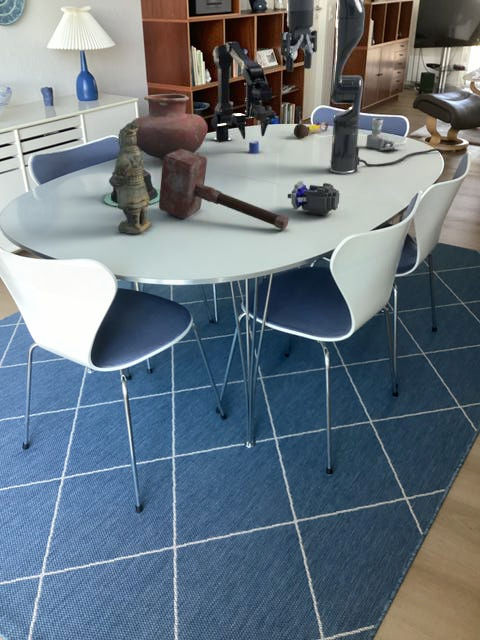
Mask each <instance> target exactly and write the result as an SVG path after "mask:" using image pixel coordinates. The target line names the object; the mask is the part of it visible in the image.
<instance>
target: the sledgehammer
mask: <svg viewBox="0 0 480 640" xmlns="http://www.w3.org/2000/svg"><path fill="white" fill-rule="evenodd" d="M207 164H208V159H207V158H206V157H205V156H203V155H200V154H197V153H196V152H195V153H192V152H190V151H187V150H184V149H179V150H177V151H174V152H172V153H170V154H167V155H165V156H164V158H163V160H162V167H161V176H160V187H159V190H160V198H159V200H158V208H159V210H160V211H162V212H165V213H168V214H170V215H173V216H174V217H177V218H180V219H182V220H185V219H187V218H188V217H190V216H192V215H193V214H195V213H197V212H198V211H199V210H200V209H201V207H202V201H203V200H204V201H207V202H209V203H213V204H215V205H220V206H223V207H225V208H228V209H231V210H233V211H236V212H239V213H241V214H243V215H245V216H248V217H252V218H255V219H257V220H260V221H262V222H264V223H267V224H270V225H273V226H274V228H276V229H280V230H282V231H285V230H286V228H287V227H288V224H289V221H290V218H289V217H288V216H286V215H283V214H281V213H279V214H277V213H275V212H273V211H269V210H267V209H265V208H262V207H259V206H256V205H254V204H251V203H248V202H246V201H244V200H242V199H238V198H236V197H233V196H231V195H228V194H225V193H223V192H222V191H220V190H218V189H215V188H214V187H211V186H208V185H205V181H206V175H207Z"/></svg>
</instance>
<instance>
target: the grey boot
mask: <svg viewBox="0 0 480 640" xmlns="http://www.w3.org/2000/svg"><path fill="white" fill-rule="evenodd" d="M383 123H384V119H383V118H380V117H376V118H375V117H374V118H372V121H371V125H372V129H371V133H370V134H367V136H366V144H365V148H369V149H375V150H380V151H388V150H396V149H399V148H400V147H403V146H405V145H406V144H405V143H398V144H397V143H396V140H392V139H390V138H389V137H388V136H387V135H381V134H382V126H383ZM380 151H379V152H380Z"/></svg>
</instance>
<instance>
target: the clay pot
mask: <svg viewBox="0 0 480 640" xmlns="http://www.w3.org/2000/svg"><path fill="white" fill-rule="evenodd" d="M143 99H144V101H147V102H148V105H149V113H148V114H147V115H145V116H140V117H136V118H134V119H133V120H132V121H131V122H133V121H137V122H138V123H139V127H138V130H137V131H136V138H137V143H136V146H137V147H138V149H139V150H141V151H142V153H143V154H146V155H148V156H150V157H152V158H155V159H157V160H162V161H163V158H164V156H165V155H167V154H170V153H172V152H174V151H177V150H179V149H184V150H187V151H190V152H192V153H195V154H196V152H197V151H198V150H199V148H200V147H201V146H202V145H203V143H204V141H205V139H206V137H207V135H208V130H209V129H208V128H209V127H208V123H207V121H206V120H205V119H204V117H202V115H199V114H195V113H186V109H187V102H188V101H189V99H190V97H189V96H187V95H186V94H182V93H181V94H180V93H179V94H178V93H166V94H165V93H161V94H151V95H145V96H144V98H143Z"/></svg>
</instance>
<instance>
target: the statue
mask: <svg viewBox="0 0 480 640" xmlns="http://www.w3.org/2000/svg"><path fill="white" fill-rule="evenodd" d="M132 121H133V120H132ZM132 121H131V122H129V123H127V124H126V125H125V126H123V127H122V128H121V129H119V133H118V139H117V141H118V146H119V152H118V154H117V156H116V160H115V164H114V169H113V172H114V175H113V176H112V175H111V176H110V177H109V180H108V183H109V184H110V186H111V187H112V188H113V187H114V188H115V189H116V192H117V202H118V206H117V209H119V210H122V213H123V214H124V215H125V218H126V219H125V220H122V221H120V222H119V224H118V225H117V231H118V232H121V233H126V234H134V235H136V234H142V233H143V232H145V231H146V230H147V229H148V228H150V227H151V226H152V225H153V223H152V220H150V219H148V216H147V214H148V213H147V212H148V211H147V209H148V206H149V205H150V197H149V195H148V192H147V188H146V184H145V182H144V178H143V169H144V165H145V157H144V152H143V151H142V150H141V149H140V148H139V147H138V146H137V145H136V143H137V138H136V131H137V130H138V127H139V123H138V122H137V121H133V122H132Z"/></svg>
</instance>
